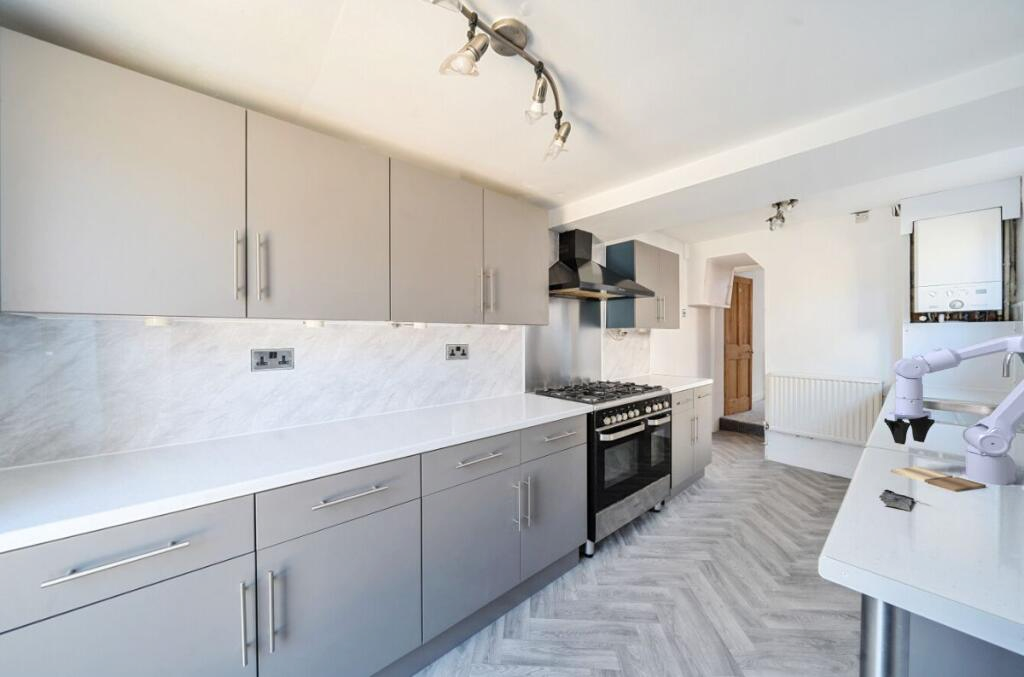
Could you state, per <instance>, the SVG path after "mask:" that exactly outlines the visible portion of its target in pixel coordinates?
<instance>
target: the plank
mask: <svg viewBox="0 0 1024 677" xmlns="http://www.w3.org/2000/svg"><path fill="white" fill-rule="evenodd" d="M890 473H893V474H896V475H899V476H903V477H904V478H905V477H906V478H909V479H912V480H917V481H919V482H922V483H928V481H931V480H938V479H946V478H953V477H954V476H953V475H951V474H949V473H945V472H944V473H943V472H940V471H938V470H937V471H936V470H933V469H930V468H926V467H921V466H918V465H917V466H910V467H902V468H895V469H890Z"/></svg>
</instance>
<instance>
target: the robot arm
mask: <svg viewBox="0 0 1024 677" xmlns="http://www.w3.org/2000/svg"><path fill="white" fill-rule="evenodd" d="M932 350H933V351H929V352H926V353H923V354H912V355H911V357H912V358H907V357H906V358H905V357H904V358H900V359H898V360H896V361H895V363H894V364H893V366H892V371H893V372H894V373H895V386H894V390H895V398H894V399H895V409H892V410H891V412H888V413H886V418H884V419H883V422H884V423H885V425H886V426H887V427H888V428H889V431H890V433H891V437H892V439H893V441H894V444H899V445H905V444H906V441H907V434H908V430H909V428H910V427H911V432H912V434H911V435H912V439H913V441H914V442H918V443H925V441H926V438H927V435H928V432H929V430H930V429H931V427H932V426H933V425H934V424H935V423H936V420H935V419H933V418H932V411H929V410H924V393H923V392H924V390H923V389H924V387H923V386H924V384H923V377H924V376H925V375H926V374H933V373H936V372H941V371H944V370H948V369H953V368H957V367H958V366H960V364H961V362H962V361H966V360H970V359H975V358H979V357H983V356H989V355H994V354H997V353H1003V352H1008V353H1009V352H1010V353H1019V354H1020V355H1021V356H1022V357H1024V332H1022V333H1021V332H1020V333H1018V334H1016V333H1015V334H1009V335H1005V336H1001V337H996V338H993V339H990V340H985V341H983V342H979V343H976V344H972V345H968V346H965V347H961V348H958V349H951V348H946V347H945V348H940V347H936V348H933V349H932ZM905 420H907V421H908V422H907V421H905ZM1023 422H1024V379H1022V380H1021V381H1020V382H1019V383H1018V385H1017V386H1016V387H1015V388H1014V389H1013V390H1012V391H1011V392H1010V393H1009V394H1008V395H1007V396H1006V397H1005V398H1004V399H1003V400H1002V401H1001V402H1000V404H999V405H997V406H996V408H995V409H994V410H993V411H992V412H991V413H990V414H989V415H988V416H987V417H984V418H983V417H982V418H981V419H979V420H978V422H976V423H975V424H973V425H969V426H967V427H966V428H964V430H963V431H962V438H963V440H964V441H965V442H966V443H967V446H965V449H964V450H965V451H964V452H965V454H964V455H965V457H964V458H965V477H966V479H968V480H970V481H974V482H977V483H981V484H989V485H995V486H1006V485H1009V484H1011V483H1016V462H1015V460H1014V459H1013V458H1012V456H1011V455H1009V454H1008V452H1009V451H1010V450H1011V448H1012V442H1013V440H1014V439H1015V438H1016V435H1017V428H1018V427H1019V426H1020V425H1021V424H1022V423H1023Z"/></svg>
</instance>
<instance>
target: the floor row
mask: <svg viewBox="0 0 1024 677" xmlns="http://www.w3.org/2000/svg"><path fill="white" fill-rule="evenodd" d="M927 484H928V485H932V486H935V487H938V488H941V489H945V490H947V491H952V492H956V493H957V492H965V491H969V490H977V489H985V488H987V486H986V485H987V484H986V483H982V482H978V481H974V480H971V479H967V478H964V477H963V478H961V477H959V476H955V477H954V476H953V478H946V479H938V480H931V481H928V482H927Z"/></svg>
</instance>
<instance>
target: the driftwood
mask: <svg viewBox="0 0 1024 677" xmlns="http://www.w3.org/2000/svg"><path fill="white" fill-rule="evenodd" d="M892 492H893V493H892ZM878 498H879V499H880V501H881V502H883V503H884V504H885V507H894V508H898V509H902V510H904V511H907V512H911V509H910V506H912V503H915V498H913V497H910V496H908V495H904V494H896V493H894V490H891V489H885V490H884V491H883V492H882V493H881V494H880V495H879V497H878Z"/></svg>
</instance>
